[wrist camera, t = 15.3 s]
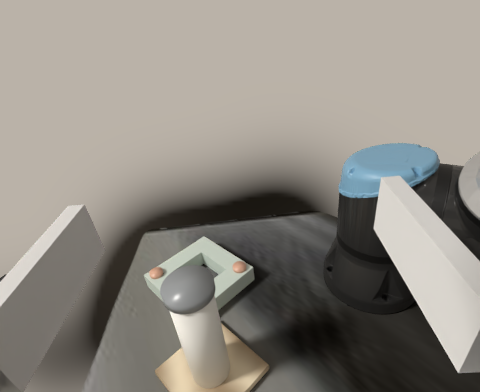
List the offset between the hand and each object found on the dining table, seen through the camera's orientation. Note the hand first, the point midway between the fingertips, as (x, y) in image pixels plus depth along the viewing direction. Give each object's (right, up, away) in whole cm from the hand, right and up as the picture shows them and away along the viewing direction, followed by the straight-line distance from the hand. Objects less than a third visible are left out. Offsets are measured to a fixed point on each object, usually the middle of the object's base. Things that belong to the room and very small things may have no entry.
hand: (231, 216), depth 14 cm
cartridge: (-4, -22, +27) cm, 35 cm away
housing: (-7, -15, +42) cm, 45 cm away
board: (-3, -23, +27) cm, 36 cm away
